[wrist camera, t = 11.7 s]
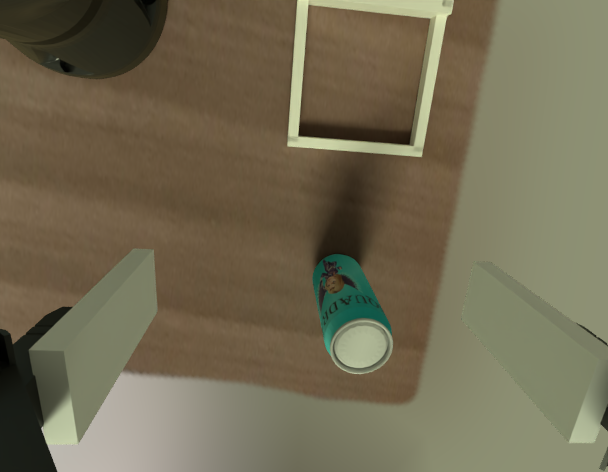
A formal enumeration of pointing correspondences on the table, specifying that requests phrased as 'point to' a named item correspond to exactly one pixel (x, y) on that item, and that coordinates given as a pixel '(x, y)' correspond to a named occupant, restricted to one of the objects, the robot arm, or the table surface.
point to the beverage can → (351, 316)
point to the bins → (437, 6)
